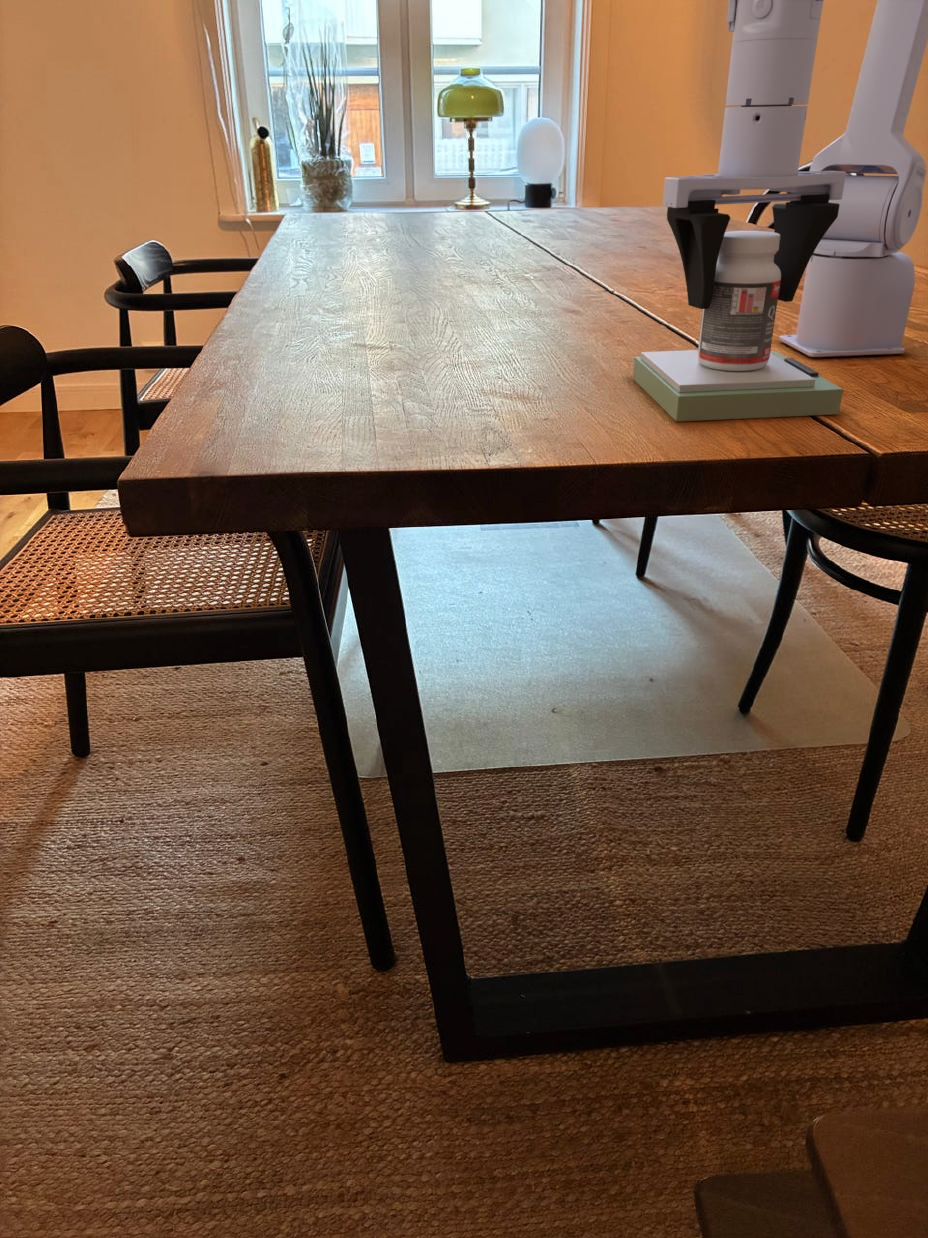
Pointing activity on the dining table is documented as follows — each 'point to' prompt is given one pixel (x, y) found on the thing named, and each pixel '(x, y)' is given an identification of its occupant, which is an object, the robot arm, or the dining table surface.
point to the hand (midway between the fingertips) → (740, 303)
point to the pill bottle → (741, 303)
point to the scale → (734, 388)
